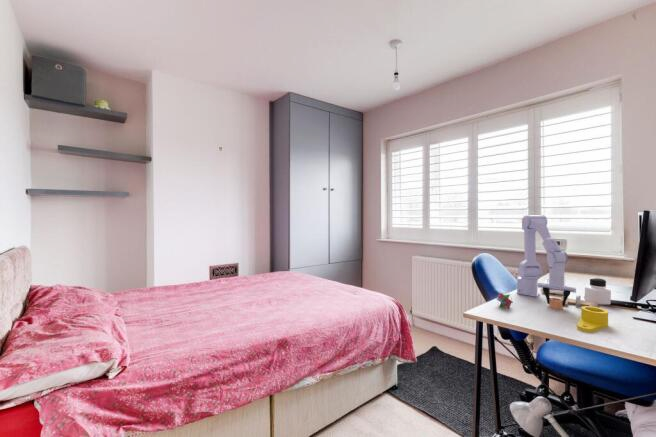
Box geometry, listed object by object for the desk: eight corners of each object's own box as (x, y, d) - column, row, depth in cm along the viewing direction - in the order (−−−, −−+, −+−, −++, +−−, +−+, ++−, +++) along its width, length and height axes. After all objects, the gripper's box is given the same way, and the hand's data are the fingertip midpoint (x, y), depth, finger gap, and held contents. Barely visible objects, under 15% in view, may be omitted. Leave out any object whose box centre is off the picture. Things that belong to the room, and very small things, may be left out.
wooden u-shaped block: (559, 305, 148) (559, 302, 148) (561, 299, 157) (561, 297, 157) (597, 311, 139) (597, 309, 139) (597, 305, 148) (597, 302, 148)
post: (574, 307, 145) (574, 295, 145) (574, 305, 147) (574, 294, 147) (581, 308, 143) (582, 297, 143) (581, 307, 145) (582, 295, 145)
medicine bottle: (610, 304, 148) (611, 280, 148) (596, 304, 148) (596, 280, 148) (598, 300, 155) (598, 277, 155) (584, 300, 156) (584, 277, 155)
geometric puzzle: (519, 305, 142) (510, 289, 147) (509, 306, 140) (500, 290, 144) (508, 310, 148) (499, 294, 152) (498, 312, 145) (489, 296, 150)
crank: (584, 318, 131) (585, 304, 131) (610, 324, 124) (610, 310, 124) (569, 328, 121) (570, 313, 121) (596, 335, 114) (597, 320, 114)
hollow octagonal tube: (548, 307, 144) (548, 299, 144) (549, 305, 148) (550, 297, 148) (562, 310, 141) (562, 301, 141) (563, 307, 145) (563, 299, 145)
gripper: (537, 275, 146) (536, 303, 146) (575, 280, 136) (575, 310, 137) (539, 273, 151) (538, 300, 152) (576, 277, 142) (575, 306, 142)
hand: (556, 304), depth 145 cm, fingers closed on hollow octagonal tube, 5 cm apart
